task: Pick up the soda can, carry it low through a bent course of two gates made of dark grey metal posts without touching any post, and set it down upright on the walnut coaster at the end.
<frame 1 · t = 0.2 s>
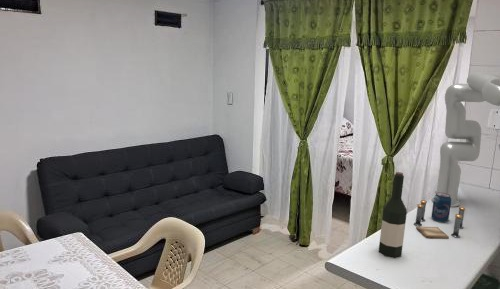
post 2a: (455, 236, 154), on the table
wine bottle: (389, 252, 138), on the table
post 1a: (459, 227, 163), on the table
walnut coaster: (431, 233, 155), on the table
post 1b: (421, 220, 169), on the table
soda can: (439, 220, 171), on the table
post 2b: (417, 224, 164), on the table
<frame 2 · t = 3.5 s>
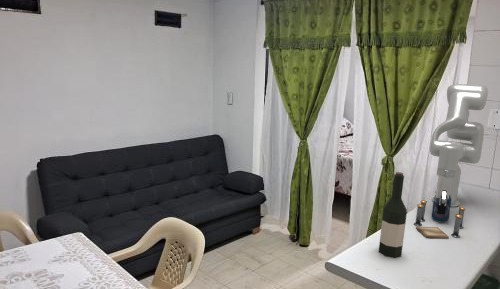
hand: (440, 210, 170), 4 cm above the table, tool pointing down, fingers closed on soda can, 7 cm apart
soda can: (439, 220, 171), on the table, touching gripper
everything else where it was.
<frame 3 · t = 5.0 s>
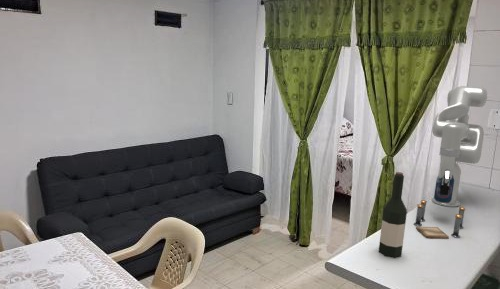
hand: (443, 191, 167), 13 cm above the table, tool pointing down, fingers closed on soda can, 6 cm apart
soda can: (442, 201, 168), point 9 cm above the table, touching gripper
everything else where it was.
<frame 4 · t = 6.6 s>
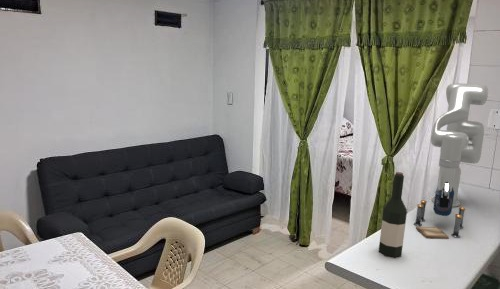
hand: (443, 203, 161), 10 cm above the table, tool pointing down, fingers closed on soda can, 6 cm apart
soda can: (441, 214, 162), point 6 cm above the table, touching gripper
everything else where it was.
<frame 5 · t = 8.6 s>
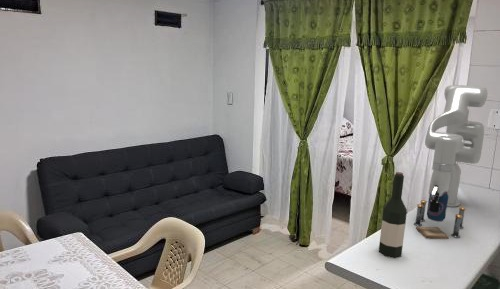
hand: (436, 208, 155), 10 cm above the table, tool pointing down, fingers closed on soda can, 6 cm apart
soda can: (435, 219, 156), point 6 cm above the table, touching gripper
everything else where it was.
when the fingers open (7 cm above the table, at t = 10.1 s): soda can drops 1 cm, resting on walnut coaster.
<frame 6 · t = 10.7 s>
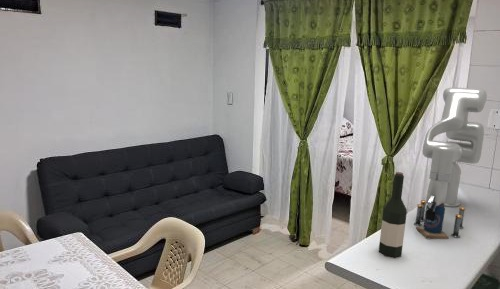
hand: (434, 216, 154), 7 cm above the table, tool pointing down, fingers open, 9 cm apart
soda can: (432, 231, 156), point 1 cm above the table, touching walnut coaster
everything else where it was.
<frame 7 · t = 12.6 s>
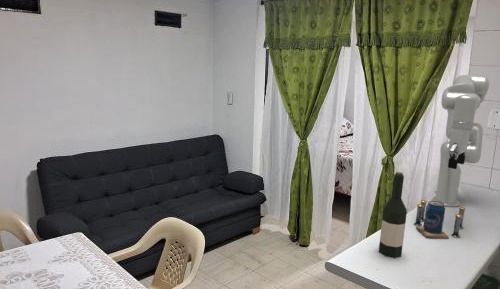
hand: (456, 165, 159), 27 cm above the table, tool pointing down, fingers open, 9 cm apart
nothing on the table moved.
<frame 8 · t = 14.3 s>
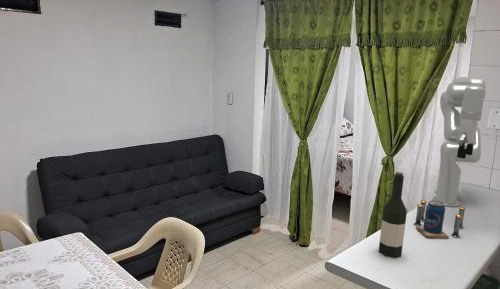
hand: (464, 156, 162), 30 cm above the table, tool pointing down, fingers open, 9 cm apart
nothing on the table moved.
at the end: soda can inside the target area on the walnut coaster (0.4 cm from its centre), point 0.9 cm above the walnut coaster's base; soda can tilted 0°; soda can touching walnut coaster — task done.
